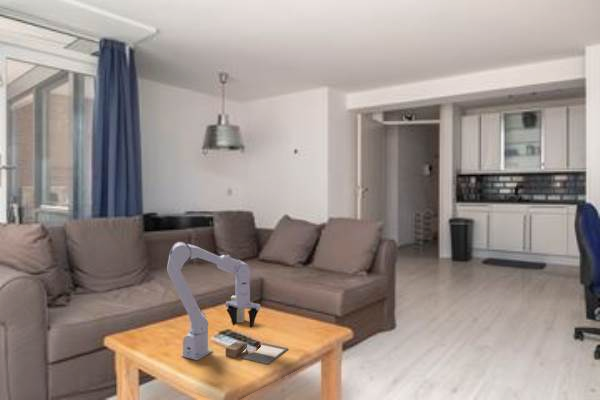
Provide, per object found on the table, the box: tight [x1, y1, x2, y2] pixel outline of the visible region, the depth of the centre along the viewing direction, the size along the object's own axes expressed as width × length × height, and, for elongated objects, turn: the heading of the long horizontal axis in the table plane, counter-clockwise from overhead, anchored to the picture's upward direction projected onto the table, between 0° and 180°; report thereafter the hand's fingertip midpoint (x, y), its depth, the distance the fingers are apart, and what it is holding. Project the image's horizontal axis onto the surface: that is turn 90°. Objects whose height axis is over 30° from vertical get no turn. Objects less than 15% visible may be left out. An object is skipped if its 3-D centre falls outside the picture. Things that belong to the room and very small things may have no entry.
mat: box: [240, 342, 289, 366], centre depth 159 cm, size 16×12×1 cm
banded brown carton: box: [225, 340, 248, 359], centre depth 159 cm, size 8×4×4 cm, turn 153°
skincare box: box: [230, 294, 246, 324], centre depth 196 cm, size 6×4×12 cm
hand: (243, 325), depth 164 cm, fingers open, 7 cm apart
